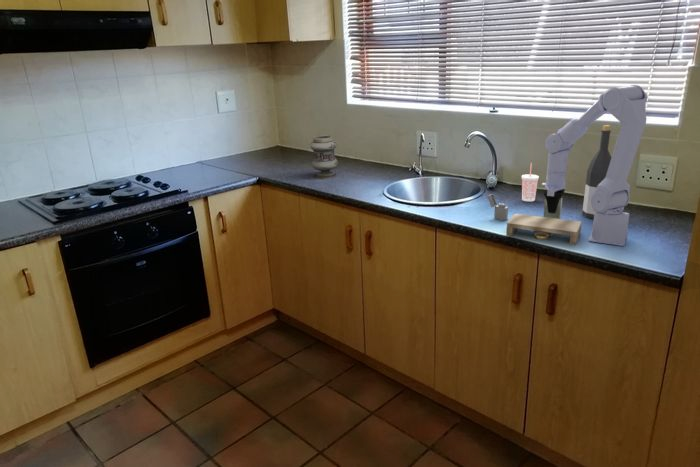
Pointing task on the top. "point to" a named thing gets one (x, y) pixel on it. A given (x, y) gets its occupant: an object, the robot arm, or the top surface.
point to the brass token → (541, 235)
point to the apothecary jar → (324, 156)
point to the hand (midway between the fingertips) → (552, 211)
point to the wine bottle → (597, 171)
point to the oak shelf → (545, 225)
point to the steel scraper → (551, 214)
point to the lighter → (498, 208)
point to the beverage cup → (529, 186)
